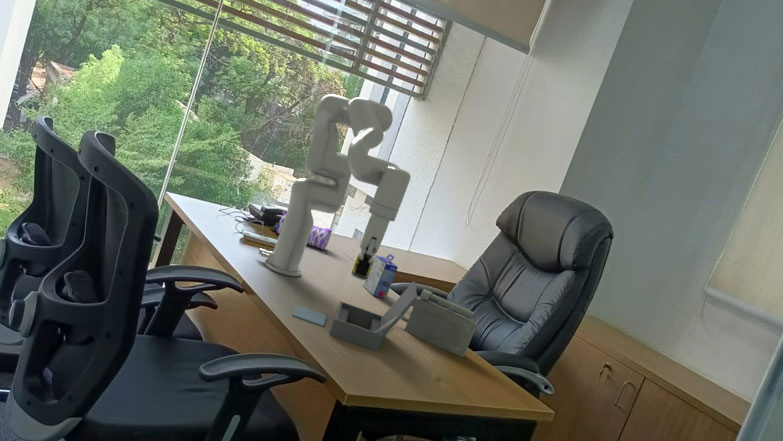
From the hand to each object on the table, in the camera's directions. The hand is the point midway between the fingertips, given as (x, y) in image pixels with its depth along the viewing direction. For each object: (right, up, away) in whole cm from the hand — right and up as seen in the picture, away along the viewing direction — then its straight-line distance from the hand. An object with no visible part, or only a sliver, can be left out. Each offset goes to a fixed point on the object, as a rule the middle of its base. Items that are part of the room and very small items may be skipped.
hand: (360, 271), depth 185 cm
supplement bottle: (-1, -2, 0) cm, 2 cm away
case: (+1, -18, +2) cm, 18 cm away
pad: (-14, -13, +2) cm, 19 cm away
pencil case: (-28, +6, +86) cm, 90 cm away
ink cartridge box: (+2, -11, +51) cm, 52 cm away
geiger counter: (+19, -22, +20) cm, 35 cm away
